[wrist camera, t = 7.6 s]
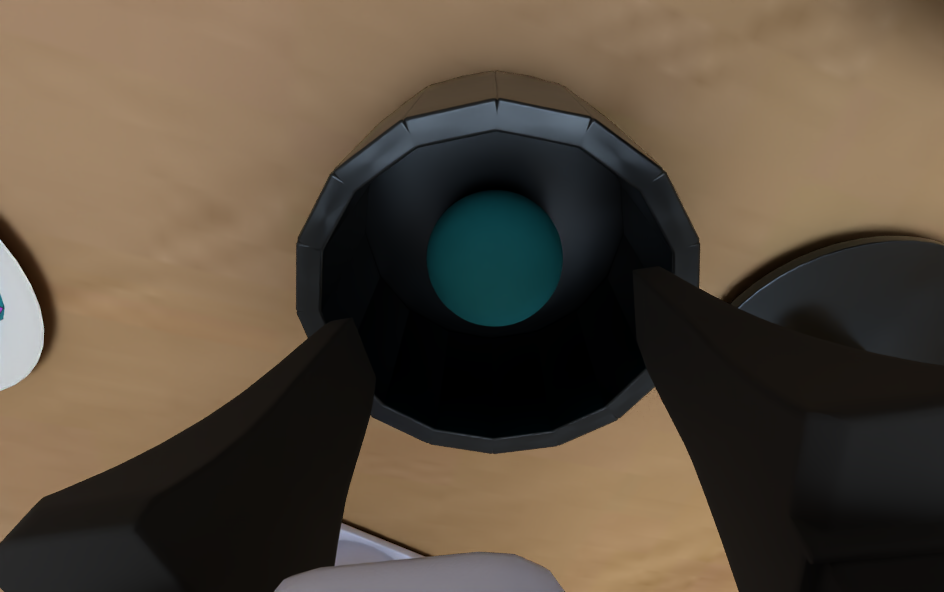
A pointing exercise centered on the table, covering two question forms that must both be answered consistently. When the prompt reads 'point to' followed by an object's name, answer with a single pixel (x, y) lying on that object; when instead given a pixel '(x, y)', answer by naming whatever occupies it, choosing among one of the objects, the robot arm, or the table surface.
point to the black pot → (494, 347)
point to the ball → (494, 258)
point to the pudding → (17, 322)
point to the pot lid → (861, 296)
